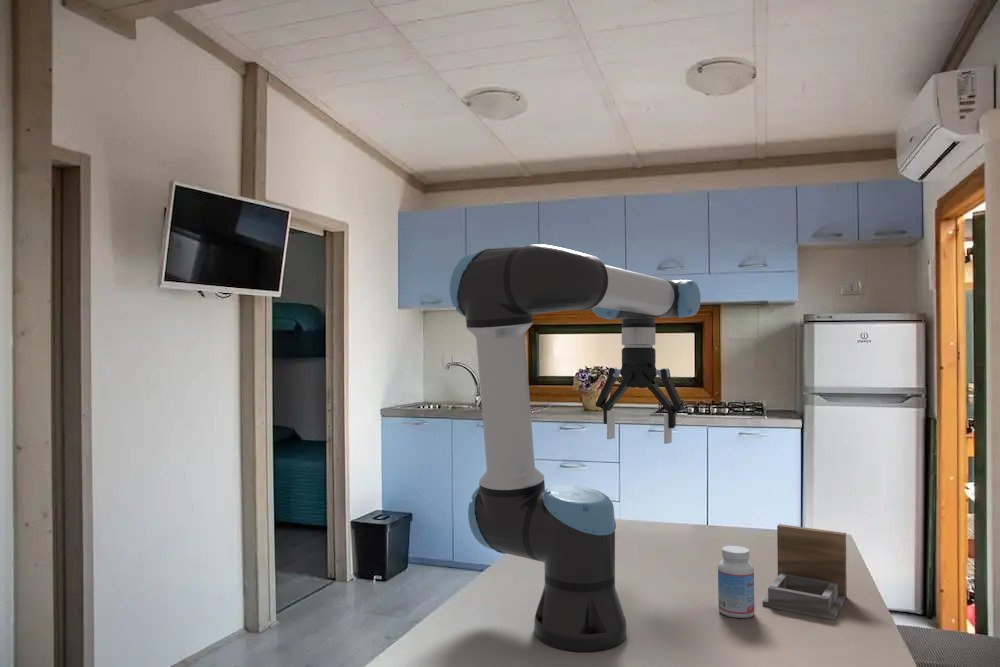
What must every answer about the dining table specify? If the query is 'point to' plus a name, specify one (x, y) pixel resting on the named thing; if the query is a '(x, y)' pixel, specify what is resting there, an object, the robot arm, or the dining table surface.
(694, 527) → the dining table surface
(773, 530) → the dining table surface
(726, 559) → the pill bottle
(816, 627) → the dining table surface
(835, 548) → the cup bracket
